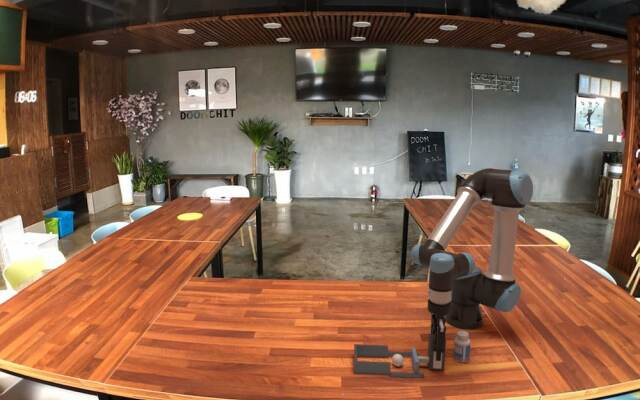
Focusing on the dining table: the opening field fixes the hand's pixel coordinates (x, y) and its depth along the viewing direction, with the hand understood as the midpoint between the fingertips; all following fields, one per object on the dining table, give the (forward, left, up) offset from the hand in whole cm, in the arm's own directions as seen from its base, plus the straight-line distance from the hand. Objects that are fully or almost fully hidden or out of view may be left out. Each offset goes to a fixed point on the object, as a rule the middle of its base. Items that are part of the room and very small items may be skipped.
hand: (435, 363), depth 152 cm
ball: (+13, 0, +1) cm, 13 cm away
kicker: (+3, 0, -1) cm, 3 cm away
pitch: (+17, 0, -1) cm, 17 cm away
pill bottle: (-10, -6, -1) cm, 12 cm away
